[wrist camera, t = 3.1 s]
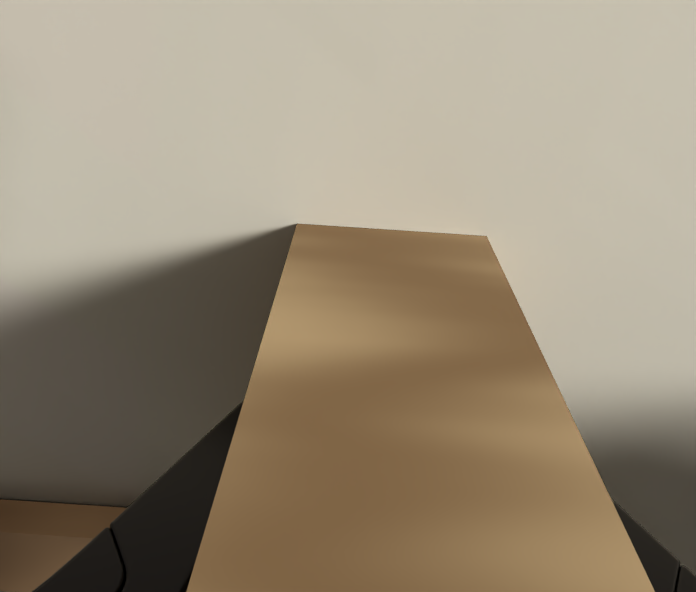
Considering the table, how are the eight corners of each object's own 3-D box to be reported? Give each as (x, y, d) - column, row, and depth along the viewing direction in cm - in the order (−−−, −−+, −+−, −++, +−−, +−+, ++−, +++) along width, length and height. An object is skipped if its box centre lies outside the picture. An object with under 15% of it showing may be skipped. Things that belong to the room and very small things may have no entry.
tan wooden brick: (486, 235, 9) (715, 721, 3) (444, 472, 12) (529, 1022, 6) (296, 223, 9) (157, 686, 3) (292, 463, 12) (206, 1001, 6)
